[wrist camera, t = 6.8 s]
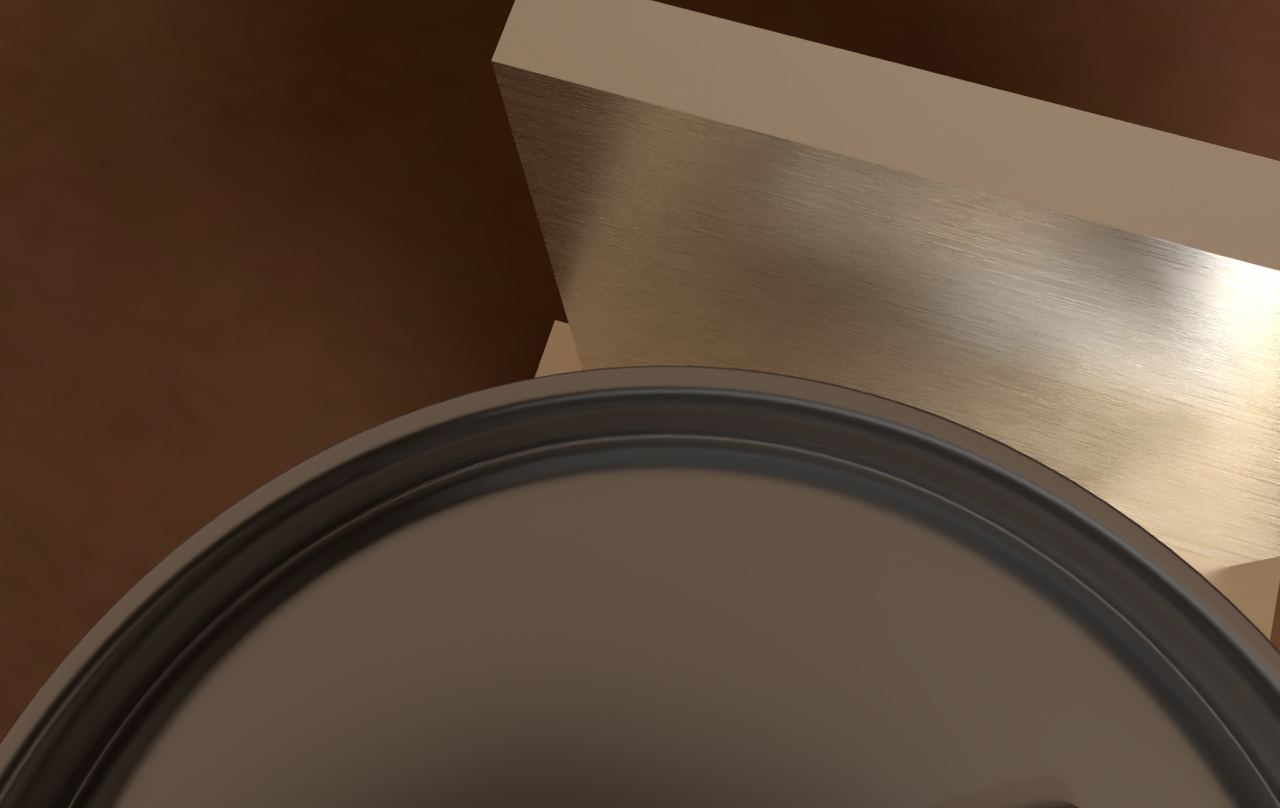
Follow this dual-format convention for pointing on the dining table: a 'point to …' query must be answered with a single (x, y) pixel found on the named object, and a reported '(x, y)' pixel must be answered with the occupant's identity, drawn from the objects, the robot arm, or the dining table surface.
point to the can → (662, 623)
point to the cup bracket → (916, 255)
